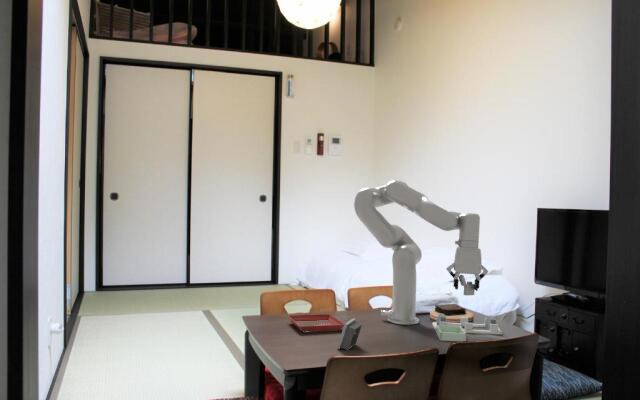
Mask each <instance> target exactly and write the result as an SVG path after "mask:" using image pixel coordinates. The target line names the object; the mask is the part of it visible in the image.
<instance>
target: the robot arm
mask: <svg viewBox="0 0 640 400" xmlns="http://www.w3.org/2000/svg"><path fill="white" fill-rule="evenodd" d="M395 203H396V204H397V205H399V206H401V207H402V208H404V209H406V210H408V211H410V212H411V213H413V214H415V215H416V216H418V217H419V218H421V219H423V220H424V221H425V222H427V223H428V224H431V225H432V226H434V227H436V228H438V229H439V230H442V231H445V232H450V231H455V230H457V231H458V230H459V233H458V234H459V235H458V236H459V237H458V240H455V241H454V245H456V246H457V247H456V249H455V254H454V260H453V263H451V264H450V265H448V266H447V267H446V271H447V272H448V273H449V274H450V276H451V277H452V278H453V287H454V289H455V290H458V289H459V277H458V276H460V275H464V274H465V275H466V274H467V275H474V277H475V279H474V284H475V290H474V291H476V292H477V291H478V289H480V281H481V280H482V279H483V278H484V277H486V275H487V274H488V273H489V270H488V269H487V268H486V267H485V266H484V265H482V264H483V263H482V251H481V248H479V242H480V241H479V240H480V239H479V238H480V226H481V225H480V224H481V222H480V221H481V217H480V214H478V213H471V212H470V213H469V212H464V213H463V212H457V211H448V210H446V209H445V208H443V207H441V206H439V205H437V204H435V203H434V202H432V201H431V200H430V199H429V198H428V197H427V196H426V195H425V194H424V193H422V192H420V191H418V190H416V189H414V188H412V187H410V186H409V185H408V184H407V183H406V182H405V181H402V180H396V179H395V180H394V179H393V180H390V181H389V182H387V184H386V185H381V186H377V187H364V188H362V189H360V190H358V192H357V193H356V195H355V198H354V203H353V204H354V205H353V206H354V211H355V214H356V216H357V218H358V219H359V220H360V222H362V224H363V225H364V227H366V229H367V230H368V231H369V232H370V234H371V235H372V236H373V237H374V238H375V239H376V241H377V242H378V243H379V244H380V245H381V246H382V247H383V248H386V249H391V250H392V251H393V253H392V258H391V261H392V264H391V265H392V304H391V305H392V306H391V309H389V310H380V314H381V316H384V317H387V320H388V322H390V323H392V324H396V325H407V326H410V325H411V326H412V325H417V324H418V323H420V319H419V318H418V317H416V308H417V307H416V305H417V304H416V303H417V301H416V300H417V267H416V265H417V264H419V263H420V262H421V260H422V258H423V257H422V255H423V254H422V250H421V248H420V246H419V245H418V244H417V243H416V242H415V241H414V240H413V239H412V237H411V235H409V234H408V233H407V232H406V231H405V230H404V229H403V228H402V227H401V226H399V225H397V224H391V223H390V222H389V221H388V220H387V218H385V216H383V214H382V213H381V212H380V211H378V210H377V208H379V207H383V206H387V205H390V204H395ZM452 269H453V270H454V272H453V271H452Z"/></svg>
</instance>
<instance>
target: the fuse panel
mask: <svg viewBox="0 0 640 400" xmlns="http://www.w3.org/2000/svg"><path fill="white" fill-rule="evenodd" d="M431 324H432V326H433V329H434V330H435V331H436V325H438V315H436V321H432V323H431ZM440 325H448V326H461V327H462V328H463V327H464V328H463V330H464V331H465V333H466V334H483V335H486V334H487V335H503V331H502V330H501V329H500V328H499V324H498V323H496V324H490V331H488V329H487V328H486V327H487V317H485V318H484V323H479V324H478V323H473V322H469V317H467V316H460V322H448V321H446V322H443V321H440ZM473 328H486V330H484V329H473Z"/></svg>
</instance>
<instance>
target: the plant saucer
mask: <svg viewBox="0 0 640 400" xmlns="http://www.w3.org/2000/svg"><path fill="white" fill-rule="evenodd" d="M287 317H288V320H290V321H291V323H292V325H293V326H295V327H296V326H297V327H298V328H299V329H300V332H302V331H304V332H305V331H325V332H331V331H330V330H339V331H340V330H342V329H343V328H344V325H345V323H344V322H342V321H341V320H340V319H338V318H336V317H335V316H333V315H332V314H331V313H320V314H293V315H291V314H290V315H288V316H287ZM317 320H318V321H319V320H328V321H329V322H330V323H331V324H330V323H328V324H327V323H326V324H325V323H323V324H322V323H321V324H319V325H314V326H303V325H302V326H300V325H299V324H298V323H296V322H295V321H317ZM297 327H296V328H297ZM298 328H297V329H298ZM299 329H298V330H299Z"/></svg>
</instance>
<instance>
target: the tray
mask: <svg viewBox="0 0 640 400" xmlns="http://www.w3.org/2000/svg"><path fill="white" fill-rule="evenodd" d="M463 329H464V328H463V327H461V326H448V325H436V330H435V333H436V335H437V337H438V340H439V341H445V342H446V341H447V342H462V341H466V342H467V333H465V331H464V330H463Z"/></svg>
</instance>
